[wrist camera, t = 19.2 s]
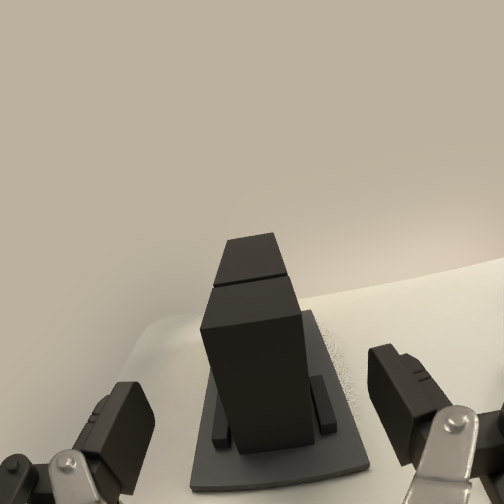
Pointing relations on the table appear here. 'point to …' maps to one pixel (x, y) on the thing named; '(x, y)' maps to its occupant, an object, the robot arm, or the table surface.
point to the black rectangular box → (260, 364)
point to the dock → (322, 399)
